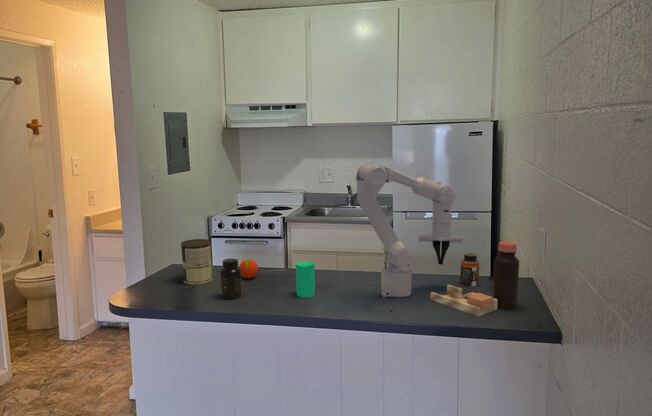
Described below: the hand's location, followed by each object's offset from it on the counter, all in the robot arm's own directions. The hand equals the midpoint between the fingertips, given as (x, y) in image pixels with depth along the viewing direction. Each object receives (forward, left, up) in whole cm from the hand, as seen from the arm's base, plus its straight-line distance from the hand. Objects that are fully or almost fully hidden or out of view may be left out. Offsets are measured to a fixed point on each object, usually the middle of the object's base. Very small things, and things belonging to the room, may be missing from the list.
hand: (440, 263), depth 161 cm
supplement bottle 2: (+11, +4, -10) cm, 15 cm away
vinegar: (+15, -17, -10) cm, 25 cm away
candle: (-44, 0, -10) cm, 45 cm away
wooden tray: (+6, -14, -9) cm, 17 cm away
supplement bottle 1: (-68, 0, -10) cm, 69 cm away
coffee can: (-83, +18, -10) cm, 85 cm away
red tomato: (-65, +19, -10) cm, 68 cm away
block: (+6, -20, -8) cm, 23 cm away
